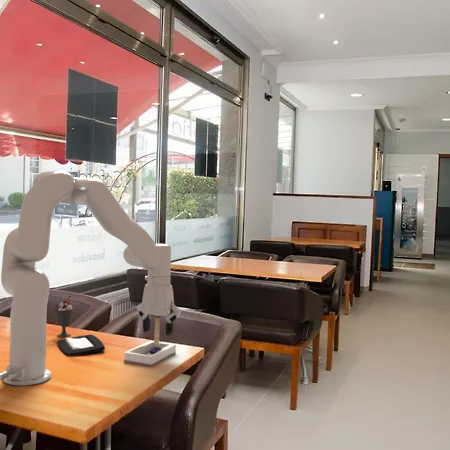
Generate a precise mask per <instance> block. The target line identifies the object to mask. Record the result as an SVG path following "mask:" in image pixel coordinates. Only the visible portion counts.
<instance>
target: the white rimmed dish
mask: <svg viewBox="0 0 450 450" xmlns="http://www.w3.org/2000/svg"><path fill="white" fill-rule="evenodd" d="M176 346H177V345H176V344H173V343H169V342H168V343H167V342H162V341H161V342H160V341H159V347H160V348H161V351H159V352H157V353H155V354H151V353H150V350H151V348H153V347H154V340H148V341H147V342H144V343H142V344H140V345H138V346H137V345H136V347H133V348H131V349H129V350H127V351H124V355H123V363H130V364H134V365H135V364H137V365H141V366H147V367H153V366H155V365H157V364H159V363H160V362H163V361H164V360H166V359H168V358H169V357H172V356H173V355H175V354H176V352H177V351H176V348H177V347H176Z"/></svg>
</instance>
